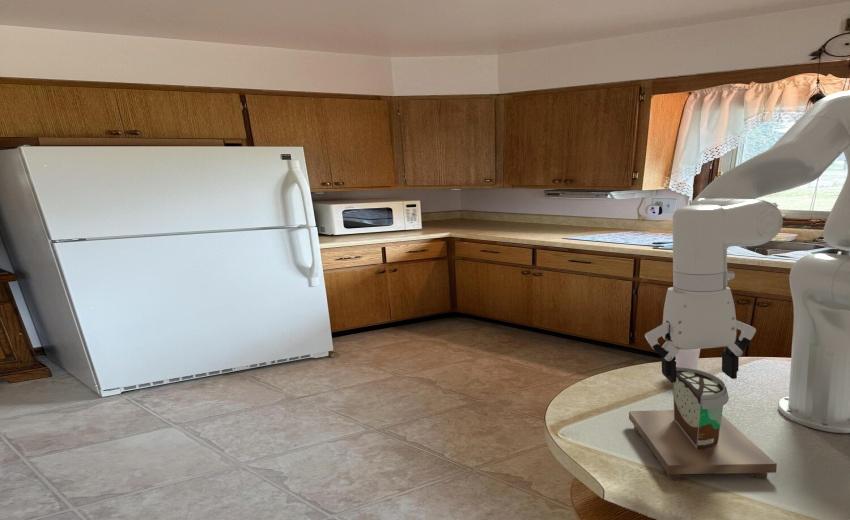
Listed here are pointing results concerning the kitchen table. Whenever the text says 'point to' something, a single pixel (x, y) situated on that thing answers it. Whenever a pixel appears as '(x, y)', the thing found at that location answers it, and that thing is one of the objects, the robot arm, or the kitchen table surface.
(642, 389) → the kitchen table surface
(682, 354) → the smoothie
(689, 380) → the food container
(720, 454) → the tan square plate
